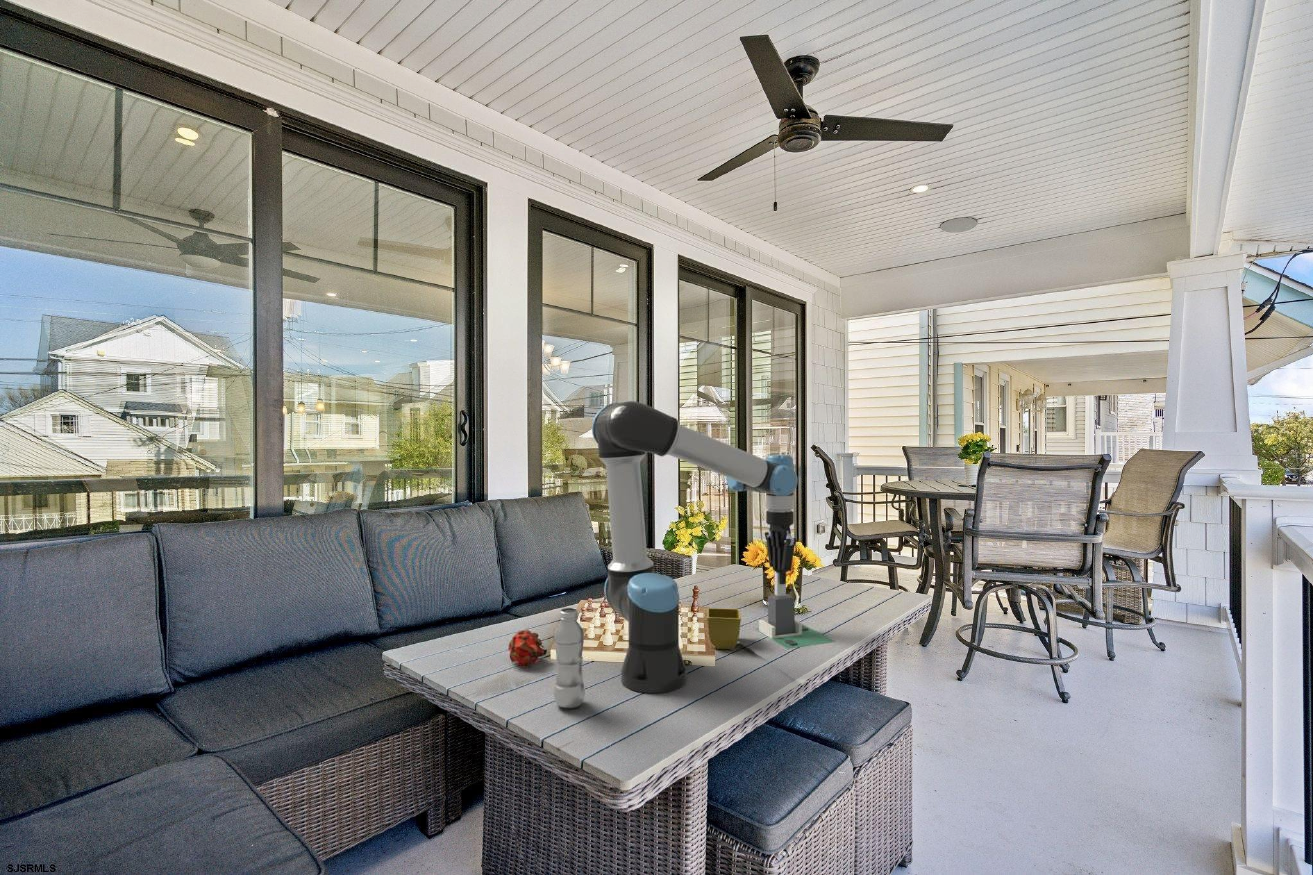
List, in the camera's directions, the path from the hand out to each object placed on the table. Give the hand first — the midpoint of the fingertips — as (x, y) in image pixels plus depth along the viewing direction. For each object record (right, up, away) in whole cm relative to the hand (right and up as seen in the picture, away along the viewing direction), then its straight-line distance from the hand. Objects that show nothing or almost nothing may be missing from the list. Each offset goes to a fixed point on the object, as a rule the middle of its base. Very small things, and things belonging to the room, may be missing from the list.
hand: (780, 594), depth 169 cm
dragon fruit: (-67, -13, -18) cm, 70 cm away
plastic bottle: (-53, -13, -42) cm, 68 cm away
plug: (0, -11, 0) cm, 11 cm away
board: (+3, -12, -2) cm, 12 cm away
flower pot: (-16, -12, -7) cm, 22 cm away
